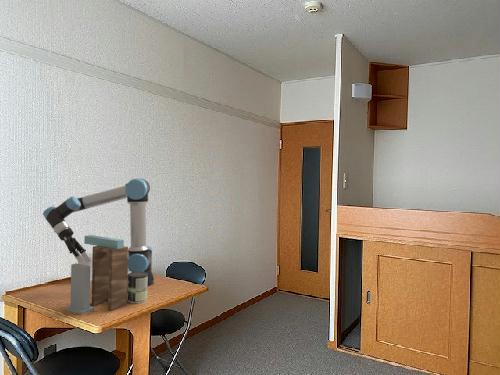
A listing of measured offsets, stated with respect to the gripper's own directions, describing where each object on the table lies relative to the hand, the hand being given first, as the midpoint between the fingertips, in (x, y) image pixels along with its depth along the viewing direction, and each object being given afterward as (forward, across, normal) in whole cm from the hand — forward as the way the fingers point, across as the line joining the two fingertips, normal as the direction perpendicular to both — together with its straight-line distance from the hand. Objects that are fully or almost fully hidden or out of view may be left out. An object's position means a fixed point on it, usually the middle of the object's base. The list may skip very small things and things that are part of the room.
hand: (85, 261), depth 207 cm
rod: (+3, +19, +16) cm, 25 cm away
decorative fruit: (+27, -7, +7) cm, 29 cm away
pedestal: (+22, +21, -10) cm, 32 cm away
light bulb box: (+11, -50, +4) cm, 51 cm away
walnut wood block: (+29, +15, 0) cm, 32 cm away
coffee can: (+35, +7, +11) cm, 37 cm away
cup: (+3, -31, -13) cm, 34 cm away
